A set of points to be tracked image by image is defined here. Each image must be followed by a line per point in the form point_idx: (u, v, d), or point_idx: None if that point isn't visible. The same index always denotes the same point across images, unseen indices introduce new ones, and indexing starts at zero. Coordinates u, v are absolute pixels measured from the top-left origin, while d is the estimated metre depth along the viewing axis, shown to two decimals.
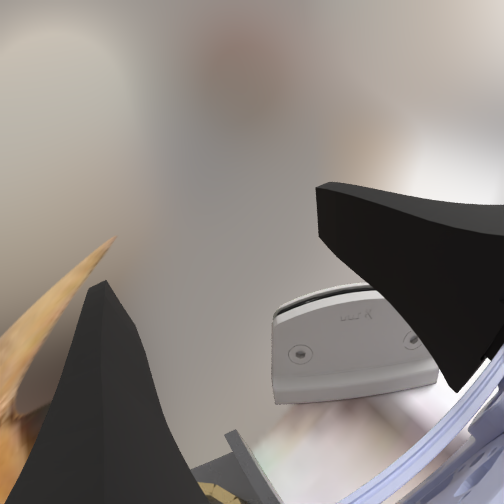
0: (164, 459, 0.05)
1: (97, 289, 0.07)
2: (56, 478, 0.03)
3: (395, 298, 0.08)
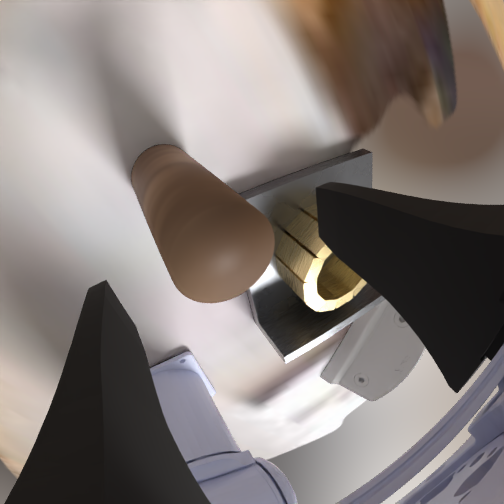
0: (164, 459, 0.05)
1: (96, 289, 0.07)
2: (56, 478, 0.03)
3: (395, 298, 0.08)
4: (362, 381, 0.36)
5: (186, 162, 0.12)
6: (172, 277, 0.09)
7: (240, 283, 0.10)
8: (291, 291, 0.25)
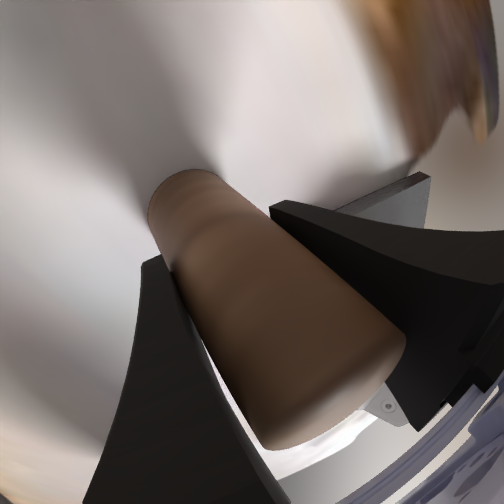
0: (240, 426, 0.05)
1: (153, 262, 0.08)
2: (162, 445, 0.03)
3: None
4: (389, 407, 0.32)
5: (245, 212, 0.08)
6: (262, 443, 0.05)
7: (345, 413, 0.06)
8: None
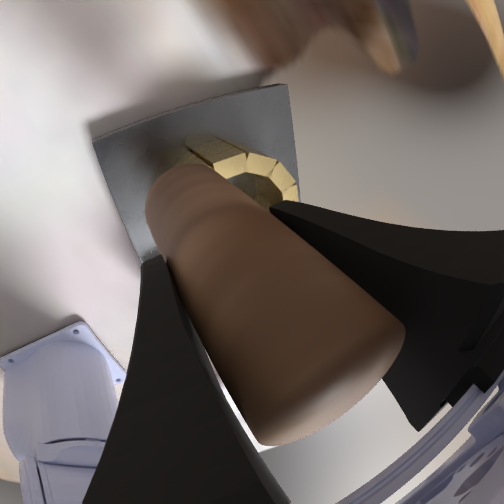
0: (239, 426, 0.05)
1: (153, 261, 0.08)
2: (162, 444, 0.03)
3: None
4: None
5: (236, 204, 0.08)
6: (258, 440, 0.05)
7: (347, 405, 0.06)
8: None
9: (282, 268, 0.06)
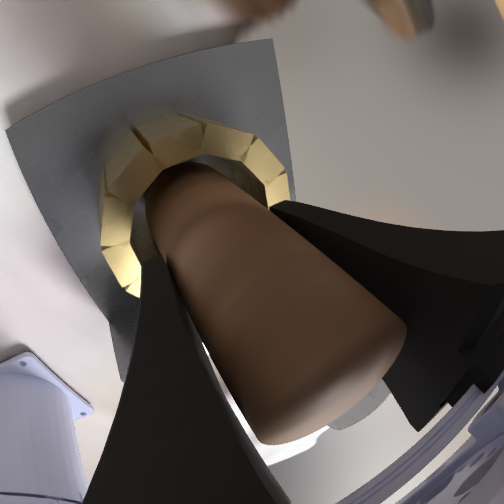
0: (240, 426, 0.05)
1: (153, 261, 0.08)
2: (161, 444, 0.03)
3: None
4: None
5: (235, 203, 0.08)
6: (260, 439, 0.05)
7: (349, 403, 0.06)
8: None
9: (281, 267, 0.06)
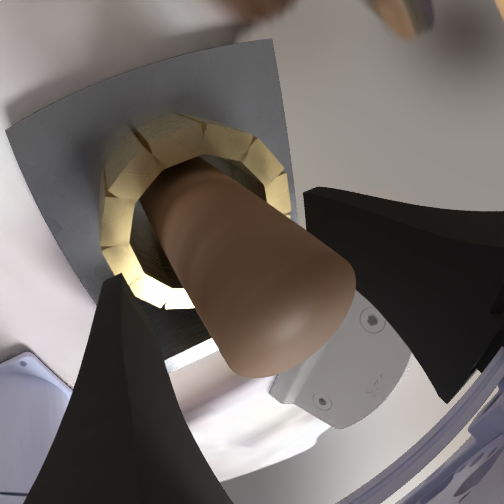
0: (185, 451, 0.05)
1: (112, 281, 0.08)
2: (82, 472, 0.03)
3: (384, 306, 0.08)
4: (324, 403, 0.27)
5: (213, 179, 0.09)
6: (228, 363, 0.06)
7: (312, 344, 0.07)
8: None
9: (245, 219, 0.07)
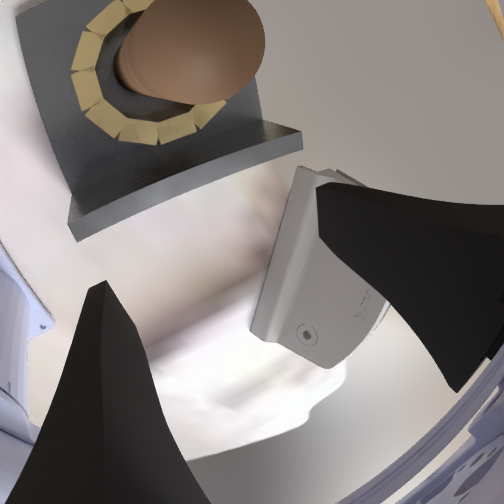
0: (164, 459, 0.05)
1: (96, 289, 0.07)
2: (56, 477, 0.03)
3: (395, 298, 0.08)
4: (309, 337, 0.26)
5: None
6: (137, 60, 0.06)
7: (226, 79, 0.07)
8: (115, 141, 0.14)
9: None
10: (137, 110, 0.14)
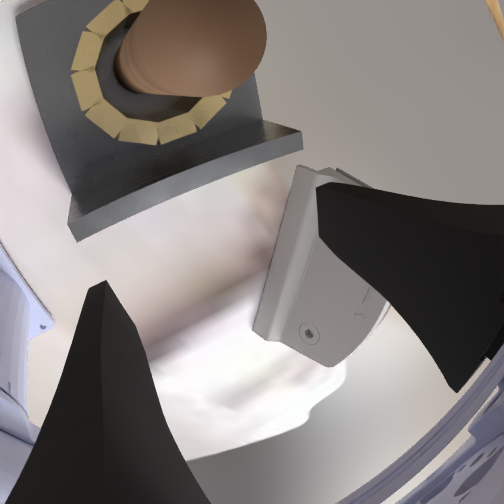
0: (164, 459, 0.05)
1: (96, 289, 0.07)
2: (56, 477, 0.03)
3: (395, 298, 0.08)
4: (311, 336, 0.26)
5: None
6: (139, 52, 0.06)
7: (229, 72, 0.07)
8: (115, 141, 0.14)
9: None
10: (137, 110, 0.14)
